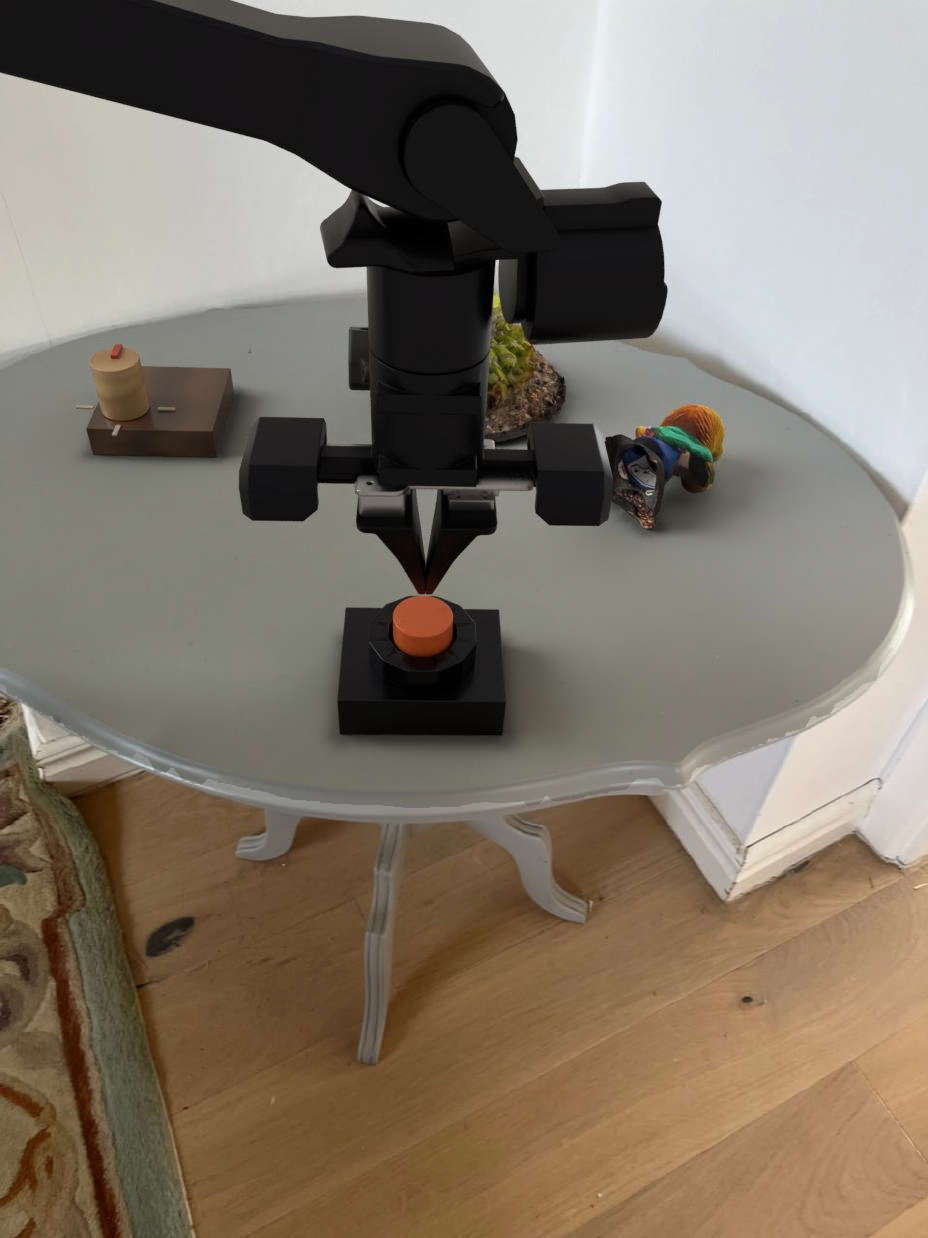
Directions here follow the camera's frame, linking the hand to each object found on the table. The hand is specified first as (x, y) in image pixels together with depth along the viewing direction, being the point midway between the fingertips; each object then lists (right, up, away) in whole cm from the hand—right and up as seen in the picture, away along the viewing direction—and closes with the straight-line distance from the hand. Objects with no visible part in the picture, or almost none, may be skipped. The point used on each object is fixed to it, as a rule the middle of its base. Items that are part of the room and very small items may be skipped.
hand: (425, 589), depth 56 cm
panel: (-23, +15, +26) cm, 38 cm away
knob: (-26, +16, +23) cm, 38 cm away
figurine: (+18, +9, +23) cm, 30 cm away
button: (0, -3, +3) cm, 4 cm away
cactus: (+4, +19, +32) cm, 37 cm away
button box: (-1, -6, +6) cm, 9 cm away
